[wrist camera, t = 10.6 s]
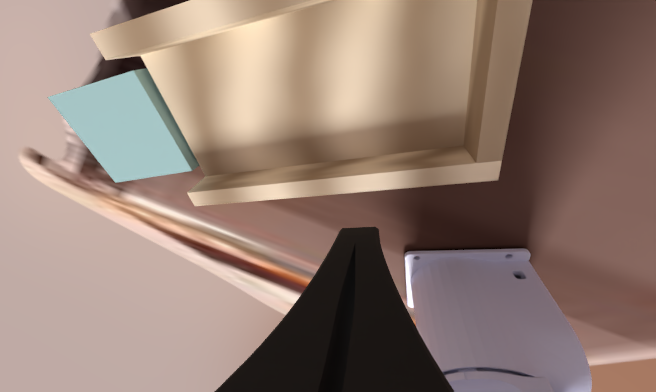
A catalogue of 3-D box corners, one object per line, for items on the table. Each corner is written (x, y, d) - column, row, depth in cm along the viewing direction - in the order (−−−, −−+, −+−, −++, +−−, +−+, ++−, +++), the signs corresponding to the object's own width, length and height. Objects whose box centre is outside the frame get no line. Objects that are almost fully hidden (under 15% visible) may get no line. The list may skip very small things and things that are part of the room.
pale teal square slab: (157, 66, 17) (133, 70, 15) (207, 159, 20) (192, 170, 19) (76, 91, 19) (47, 97, 17) (134, 171, 22) (115, 182, 21)
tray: (510, -85, 10) (556, -123, 8) (478, 155, 16) (497, 180, 13) (138, 32, 15) (89, 34, 13) (217, 183, 21) (195, 206, 18)
